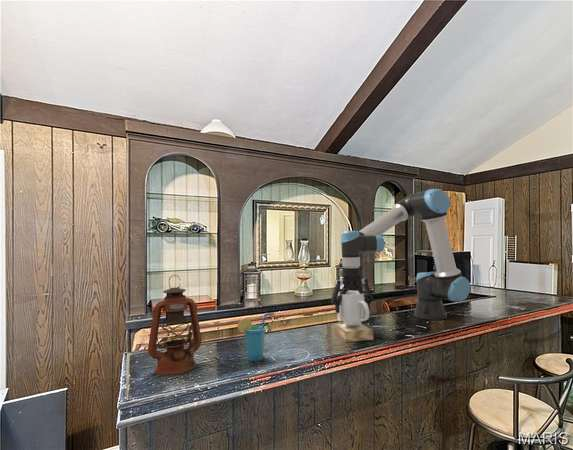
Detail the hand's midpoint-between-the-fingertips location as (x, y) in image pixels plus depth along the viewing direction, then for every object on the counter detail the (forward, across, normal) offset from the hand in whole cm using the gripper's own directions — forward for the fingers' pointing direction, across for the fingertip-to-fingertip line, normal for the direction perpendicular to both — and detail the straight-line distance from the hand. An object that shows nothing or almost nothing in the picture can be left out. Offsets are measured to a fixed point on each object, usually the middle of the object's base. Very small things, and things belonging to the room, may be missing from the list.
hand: (353, 319), depth 134 cm
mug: (+2, 0, 0) cm, 2 cm away
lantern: (+7, +69, +15) cm, 71 cm away
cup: (+7, +42, +14) cm, 45 cm away
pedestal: (+7, 0, 0) cm, 7 cm away
